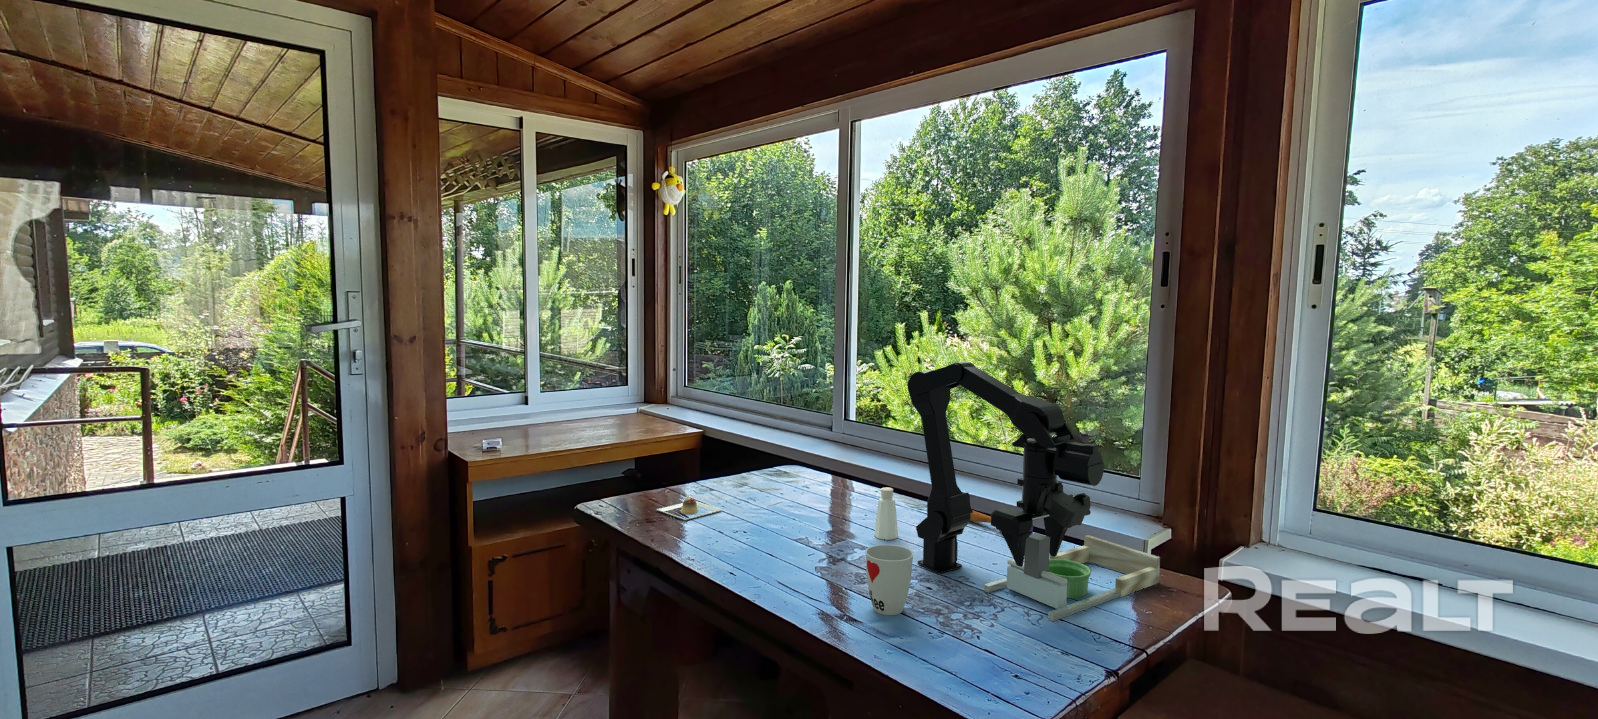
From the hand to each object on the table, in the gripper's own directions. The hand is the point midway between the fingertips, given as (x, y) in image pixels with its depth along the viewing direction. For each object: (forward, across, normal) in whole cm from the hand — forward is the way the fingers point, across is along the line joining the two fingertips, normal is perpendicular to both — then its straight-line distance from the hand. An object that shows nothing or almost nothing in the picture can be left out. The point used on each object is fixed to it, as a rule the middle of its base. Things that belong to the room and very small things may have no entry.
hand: (1036, 560), depth 127 cm
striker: (+7, 0, 0) cm, 7 cm away
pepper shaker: (+7, 0, +41) cm, 42 cm away
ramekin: (+7, +8, 0) cm, 11 cm away
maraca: (+8, +25, +31) cm, 40 cm away
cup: (+7, -25, +11) cm, 28 cm away
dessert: (+8, -30, +82) cm, 88 cm away
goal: (+7, +11, 0) cm, 13 cm away
